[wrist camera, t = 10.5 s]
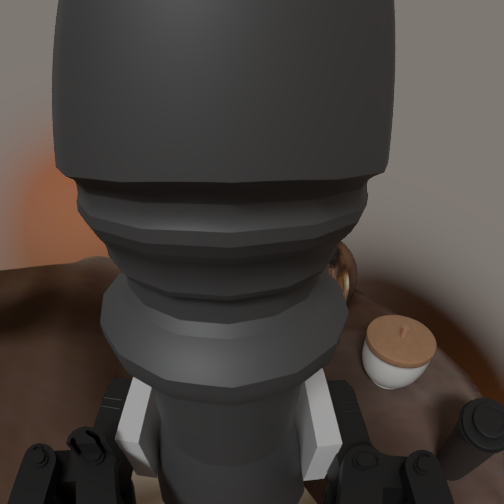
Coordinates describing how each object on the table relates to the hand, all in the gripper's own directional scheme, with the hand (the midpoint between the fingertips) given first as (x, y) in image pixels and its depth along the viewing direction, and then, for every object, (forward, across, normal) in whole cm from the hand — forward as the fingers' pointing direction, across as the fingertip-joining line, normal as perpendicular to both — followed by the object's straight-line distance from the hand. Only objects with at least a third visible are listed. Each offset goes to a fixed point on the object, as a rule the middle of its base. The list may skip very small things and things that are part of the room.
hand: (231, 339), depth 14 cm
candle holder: (-5, 0, -13) cm, 14 cm away
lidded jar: (+19, +23, -25) cm, 39 cm away
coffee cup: (+1, +27, -25) cm, 37 cm away
